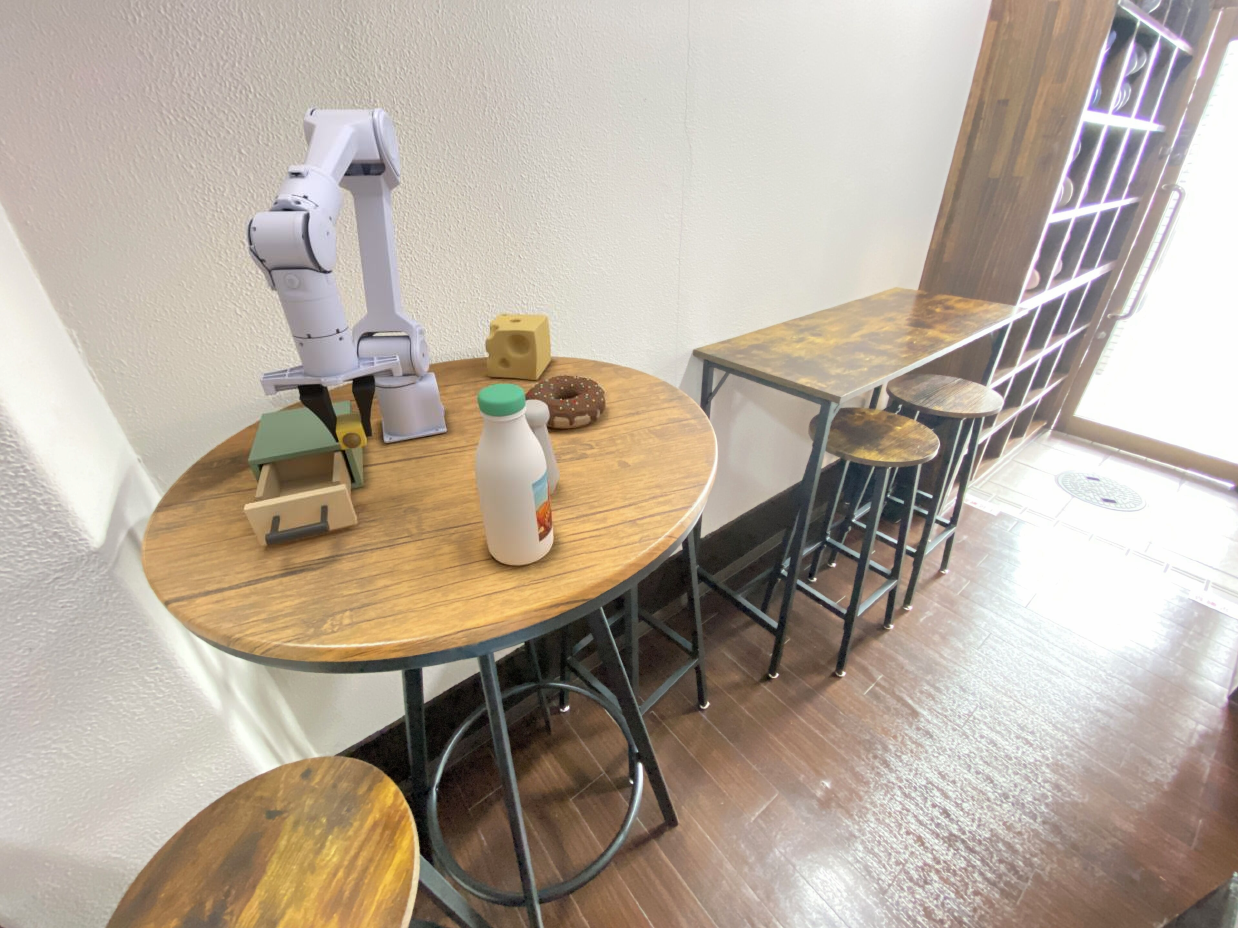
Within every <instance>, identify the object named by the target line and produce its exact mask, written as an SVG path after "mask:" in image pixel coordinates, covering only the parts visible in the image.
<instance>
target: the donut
mask: <svg viewBox="0 0 1238 928" xmlns="http://www.w3.org/2000/svg"><path fill="white" fill-rule="evenodd" d="M526 400H540V401H542V402H544V403H545V404H547V406H548V410H549V417H550V418H549V420H548V422H547V423H546V426H547V428H548V427H549V428H553V429H568V430H569V429H576V428H580V427H585V426H587V425H589V424H591V423H594V422H596V420H597V419H598V418H599V417H601V416H602V414H603V413H604V412H605V409H606V405H607V398H606V393H605V391H604V389H603V388H602V387H601V386H600V383H598V382H597V381H595V380H593V379H591V378H590V377H587V376H582V377H581V376H578V375H575V376H574V375H569V374H565V375H564V374H561V375H556V376H552V377H551V378H547V379H544V380H542V381H539V382H535V385H532V387H530V388H529V390H528V391H526V392H525V401H526Z"/></svg>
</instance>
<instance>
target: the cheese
mask: <svg viewBox="0 0 1238 928" xmlns="http://www.w3.org/2000/svg"><path fill="white" fill-rule="evenodd" d="M550 332H551V331H550V324H549V317H548V315H545V314H517V313H504V312H502V313H500V314H499V315H497V316H496V317H495V318H494V319H492V321H491V322H490V323H489V335H488V336H487V337H486V340H485V344H484V345H485V352H486V353H487V354H488V357H487V359H486V371H487V374H488V377H489V378H508V379H520V380H531V381H538V380H539V378H540V376H542V374H543V372H544V371H545V370H546V368H547V367H548V365H549V364H550V363H551V361H552V349H551V346H552V345H551V333H550Z"/></svg>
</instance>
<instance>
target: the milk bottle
mask: <svg viewBox="0 0 1238 928" xmlns="http://www.w3.org/2000/svg"><path fill="white" fill-rule="evenodd" d="M525 394H526V392H525V390H524V389H523V388H522V386H520V385H517V384H515V383H506V382H505V383H504V382H503V383H495V384H491V385H487V386H486V387H484V388H482V389H480V390H479V392H478V393H477V404H478V408H479V415H480V417H481V418H482V419H483V420H482V421H483V422H482V423H483V424H482V431H481V435H480V438H479V441H478V444H477V447H476V450H475V455H474V473H475V474H474V475H475V481H476V488H477V494H478V500H479V506H480V511H481V517H482V523H483V528H484V529H483V530H484V533H485V539H486V545H487V549H488V551H489V553H490V555H491V556H492V557H493V558H494V559H495V560H496V561H498V562H499V563H502V564H504V565H509V566H526V565H530V564H532V563H535V562H538V561H539V560H541V559H542V558H544V557H545V556H547V554H548V553H550V550H551V549H552V546H553V544H554V526H553V525H554V524H553V514H552V504H551V495H550V492H549V482H548V473H547V466H546V460H545V456H544V452H543V450H542V447H541V445H540V443H539V441H538V440H537V438H536V437H535V435H534V434H533V432H532V431H531V429H530V427H529V425H528V423H527V421H526V418H525V414H524V413H525V412H526V406H525V403H526V402H525Z"/></svg>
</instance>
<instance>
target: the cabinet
mask: <svg viewBox="0 0 1238 928" xmlns="http://www.w3.org/2000/svg"><path fill="white" fill-rule="evenodd" d="M351 402H352V401H351V400H350V399H348V400H341V401H335V402H332V406H333V409H334V412H335V414H336V417H337V415H342V414H349V413H355V411H354V408H353V406H352V403H351ZM363 447H364V446H361V447H356V448H350V449H345V450H344V451H345V455H346V458H347V461H348V464H349V467H350V470H351V490H353V489H358V488H364V455H363V452H364V451H363V449H364V448H363ZM339 449H341V446H340V443H339V442H338V443H337V442H336V441H335V439H334V437H333V436H332V434H331V433H330V431H329V430H328V429H327V427H326V426H325V425H324V424H323V422H322V421H321V420H320V419H319V418H318V417H317V416H316V415H315V414H314V413H313V412H312V411H311V410H309V409H308V408H307V407H306V406H303V407H297V408H291V409H285V410H278V411H273V412H266V413H262V414H261V417H260V420H259V423H258V427H257V429H256V433H255V436H254V440H253V443H252V446H251V449H250V452H249V456H248V459H247V463H248V465H249V467H250V469H251V472H252V474H253V476H254V478H255V481H256V482H257V484H258V483H259V479H260V475H261V471H262V467H263V464H264V463H269V462H275V461H280V460H285V459H291V458H296V457H302V456H307V455H312V454H318V453H323V452H329V451H334V450H339Z"/></svg>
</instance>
